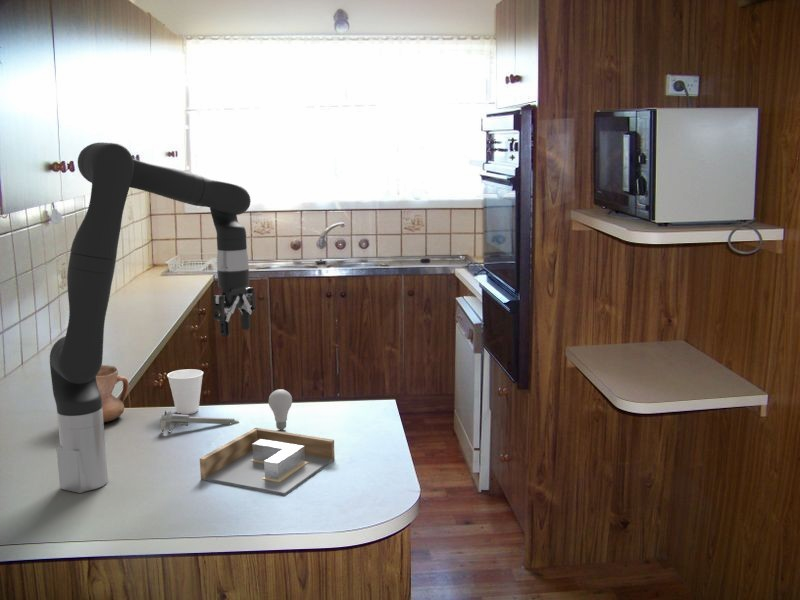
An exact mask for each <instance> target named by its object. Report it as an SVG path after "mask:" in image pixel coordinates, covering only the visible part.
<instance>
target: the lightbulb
mask: <svg viewBox="0 0 800 600" xmlns="http://www.w3.org/2000/svg"><path fill="white" fill-rule="evenodd" d="M292 397H293V396H292V395H291V393H290V392H289V391H287V390H286V389H276V390H274V391H272V392H271V393H270V395H269V397H268V406H269V408H270V409H271V411H272V413H273V416H274V420H275V425H276V428H277V429H278V431H284V430H285V429H286V428H287V420H288V414H289V410H290V409H291V407H292V404H293V398H292Z"/></svg>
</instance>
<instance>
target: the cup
mask: <svg viewBox="0 0 800 600" xmlns="http://www.w3.org/2000/svg"><path fill="white" fill-rule="evenodd" d="M203 375H204V371H202V370H200V369H193V368H190V369H189V368H188V369H178V370H173V371H171V372H169V373H167V375H166V377H167V378H168V382H169V387H170V389H171V390H170V391H171V394H172V400H173V404H174V408H175V412H176V413H177V414H179V413H181V414H180V415H192V414H195V413H197V412H198V411H199V408H200V399H201V393H202V391H201V390H202V384H203V383H202V382H203Z"/></svg>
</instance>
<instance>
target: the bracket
mask: <svg viewBox="0 0 800 600" xmlns="http://www.w3.org/2000/svg"><path fill="white" fill-rule="evenodd" d="M252 446H253V460H256V461H262V462H264V469H265V478H267V479H273V480H280V479H281V478H283V477H284V476H286V475H287V474H289V473H290V472H291V471H293V470H294V469H296V468H297V467H299V466H300V465H302V464H303V463H305V448H304V446H302V445H295V444H289V443H283V442H276V441H270V440H264V439H260V440H258V441H256V442H255V443H253V444H252Z"/></svg>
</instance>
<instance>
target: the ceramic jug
mask: <svg viewBox="0 0 800 600" xmlns="http://www.w3.org/2000/svg"><path fill="white" fill-rule="evenodd" d="M96 381H97V386H98V389H99V392H100V394H101V398H102V409H103V422H104V424H105V422H106V423H109V422H111V421H113V420H116V419H117V418H119V417H121V416H122V414H123V413H124V411H125V405H124V401H125V399H126V397H127V394H128V392H129V389H130V387H129V386H130V385H129V380H128V378H127V377H126V376H124V375H119V368H118V367H117V366H115V365H109V364H102V365H101V368H100V370H99V372H98V374H97V375H96ZM119 382H122V391H121V394H120V397H119V398H118V397H116V396H114V395H113V394H112V393H113V391H114V389H115V386H116V385H117V384H118V383H119Z"/></svg>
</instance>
